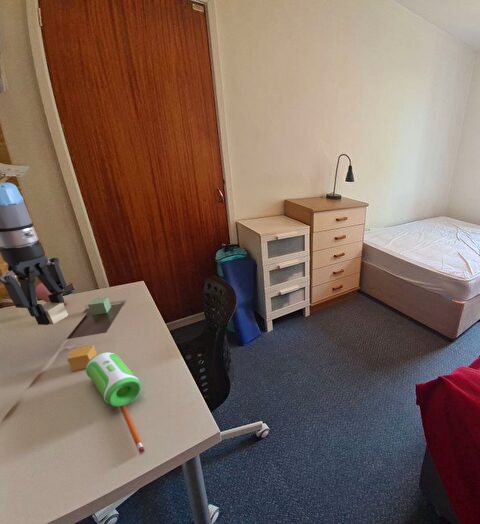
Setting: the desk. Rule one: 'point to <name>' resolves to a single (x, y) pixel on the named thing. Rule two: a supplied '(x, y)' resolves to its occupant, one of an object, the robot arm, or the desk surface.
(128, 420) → the pencil
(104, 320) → the board
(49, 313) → the beige cube
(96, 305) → the green cube
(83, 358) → the orange cube
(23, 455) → the desk surface
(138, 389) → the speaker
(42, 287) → the light bulb
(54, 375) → the desk surface
